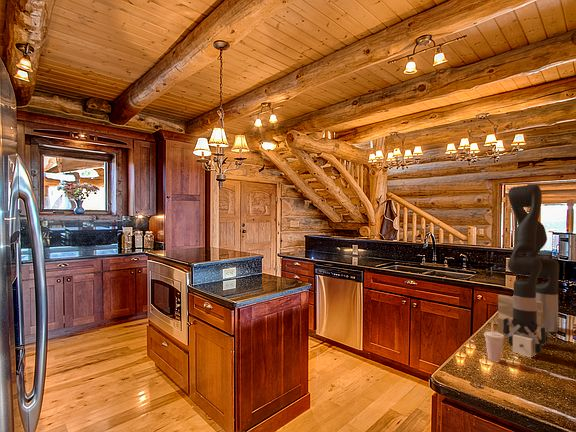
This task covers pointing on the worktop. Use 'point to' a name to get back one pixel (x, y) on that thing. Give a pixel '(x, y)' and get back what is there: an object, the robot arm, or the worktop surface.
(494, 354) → the smoothie
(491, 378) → the worktop surface
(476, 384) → the worktop surface
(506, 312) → the cleat board
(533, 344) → the wall box
